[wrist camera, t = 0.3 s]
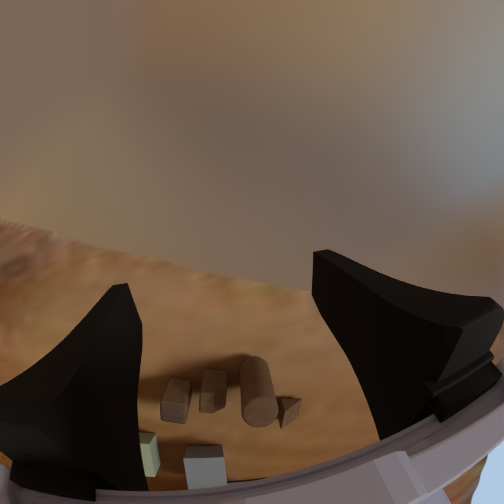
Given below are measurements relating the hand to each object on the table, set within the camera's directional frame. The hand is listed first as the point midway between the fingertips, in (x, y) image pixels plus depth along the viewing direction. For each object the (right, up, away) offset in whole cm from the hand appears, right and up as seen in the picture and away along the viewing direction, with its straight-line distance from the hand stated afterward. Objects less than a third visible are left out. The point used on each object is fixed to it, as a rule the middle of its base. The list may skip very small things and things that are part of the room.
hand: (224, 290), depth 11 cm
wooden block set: (-1, -17, +26) cm, 32 cm away
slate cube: (-5, -28, +22) cm, 36 cm away
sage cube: (-14, -26, +21) cm, 37 cm away
